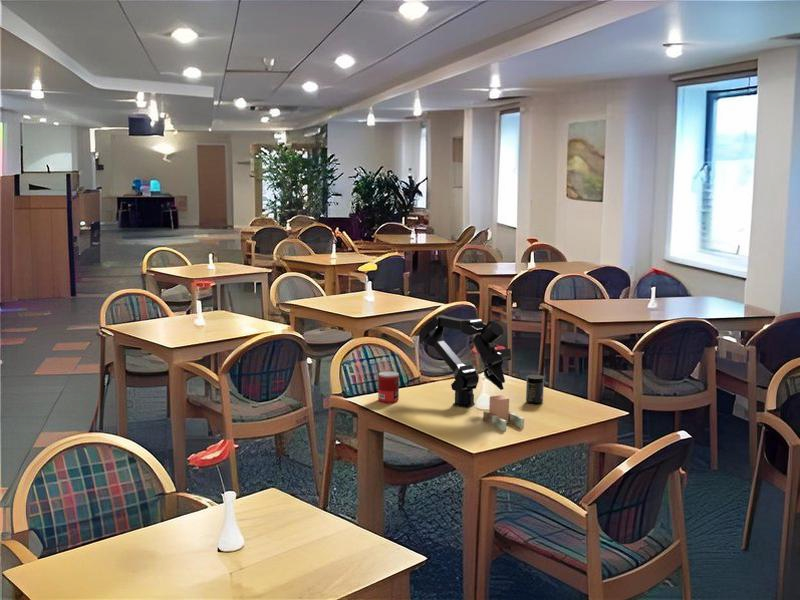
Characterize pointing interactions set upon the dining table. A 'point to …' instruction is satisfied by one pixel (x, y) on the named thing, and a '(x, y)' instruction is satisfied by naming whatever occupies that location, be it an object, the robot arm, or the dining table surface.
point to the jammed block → (499, 407)
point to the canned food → (388, 387)
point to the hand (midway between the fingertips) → (503, 386)
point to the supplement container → (534, 389)
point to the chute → (501, 422)
